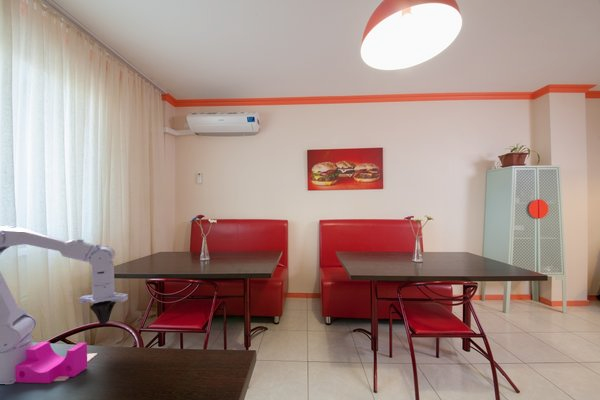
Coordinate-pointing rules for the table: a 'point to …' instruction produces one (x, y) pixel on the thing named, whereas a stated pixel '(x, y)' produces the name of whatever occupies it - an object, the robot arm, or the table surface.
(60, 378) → the pale mat
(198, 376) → the table surface
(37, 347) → the toy block
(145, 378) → the table surface
